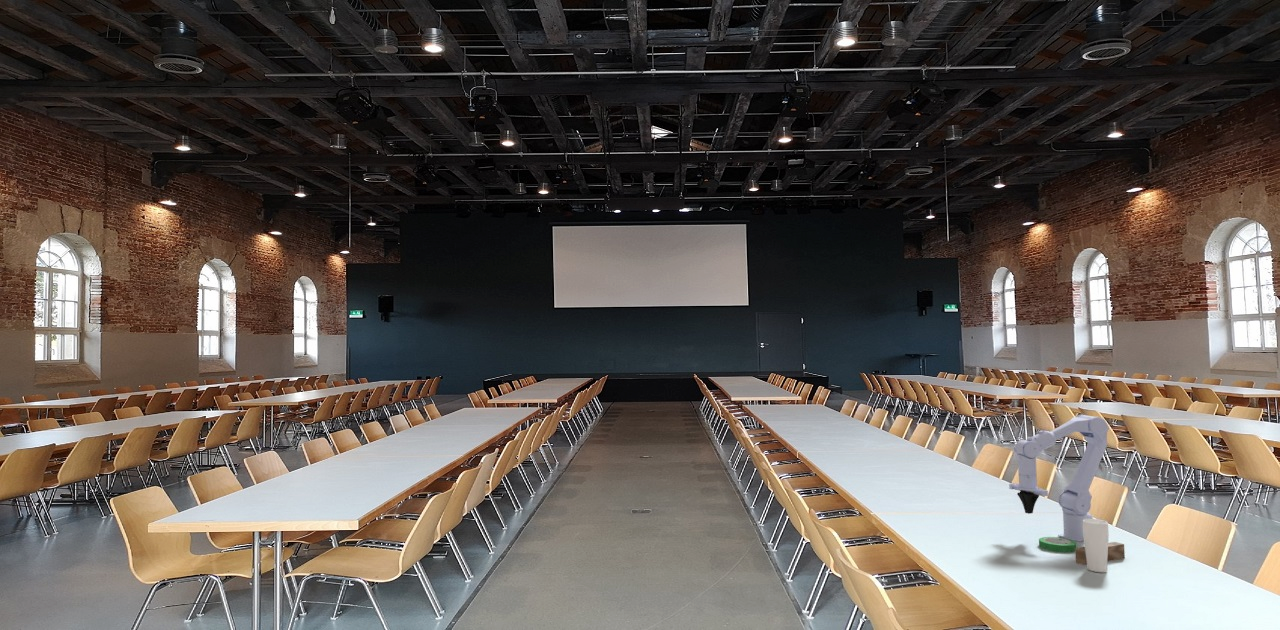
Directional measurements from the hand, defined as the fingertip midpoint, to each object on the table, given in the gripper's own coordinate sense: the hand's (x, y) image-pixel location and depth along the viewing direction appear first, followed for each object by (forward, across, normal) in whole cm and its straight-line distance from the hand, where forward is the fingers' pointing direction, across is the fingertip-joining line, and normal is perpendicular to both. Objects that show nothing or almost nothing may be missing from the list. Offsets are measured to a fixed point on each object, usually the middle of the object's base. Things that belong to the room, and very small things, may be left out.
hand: (1029, 513), depth 257 cm
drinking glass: (+10, +33, -10) cm, 36 cm away
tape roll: (+10, +11, 0) cm, 15 cm away
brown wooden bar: (+9, +26, 0) cm, 28 cm away
